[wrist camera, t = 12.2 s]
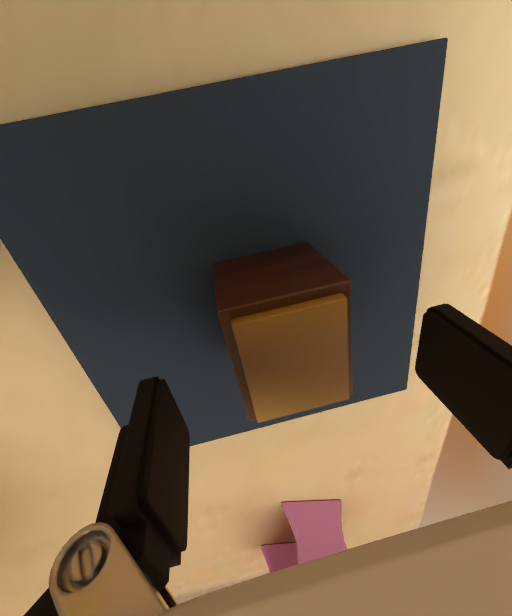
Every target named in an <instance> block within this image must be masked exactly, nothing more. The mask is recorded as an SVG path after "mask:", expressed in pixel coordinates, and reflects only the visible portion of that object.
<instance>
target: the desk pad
mask: <svg viewBox="0 0 512 616" xmlns="http://www.w3.org/2000/svg"><path fill="white" fill-rule="evenodd" d="M447 41H448V39H447V38H442V39H437V40H432V41H427V42H421V43H416V44H411V45H406V46H401V47H396V48H391V49H386V50H380V51H375V52H370V53H365V54H360V55H355V56H350V57H345V58H340V59H334V60H329V61H324V62H319V63H314V64H309V65H304V66H299V67H294V68H288V69H283V70H278V71H273V72H268V73H263V74H258V75H253V76H247V77H242V78H237V79H232V80H227V81H222V82H217V83H212V84H207V85H201V86H196V87H191V88H186V89H181V90H176V91H171V92H166V93H161V94H155V95H150V96H145V97H140V98H135V99H130V100H125V101H120V102H114V103H109V104H104V105H99V106H94V107H89V108H84V109H79V110H74V111H68V112H63V113H58V114H53V115H48V116H43V117H38V118H33V119H28V120H22V121H17V122H12V123H7V124H2V125H0V239H1V240H2V242H3V243H4V245H5V246H6V248H7V250H8V251H9V253H10V254H11V256H12V257H13V259H14V261H15V262H16V264H17V265H18V267H19V268H20V270H21V272H22V273H23V275H24V276H25V278H26V279H27V281H28V283H29V284H30V286H31V287H32V289H33V290H34V292H35V294H36V295H37V297H38V298H39V300H40V301H41V303H42V305H43V306H44V308H45V309H46V311H47V312H48V314H49V316H50V317H51V319H52V320H53V322H54V323H55V325H56V327H57V328H58V330H59V331H60V333H61V334H62V336H63V338H64V339H65V341H66V342H67V344H68V345H69V347H70V349H71V350H72V352H73V353H74V355H75V356H76V358H77V360H78V361H79V363H80V364H81V366H82V367H83V369H84V371H85V372H86V374H87V375H88V377H89V379H90V380H91V382H92V383H93V385H94V386H95V388H96V390H97V391H98V393H99V394H100V396H101V397H102V399H103V401H104V402H105V404H106V405H107V407H108V408H109V410H110V412H111V413H112V415H113V416H114V418H115V419H116V421H117V423H118V424H119V426H120V427H121V428H122V427H123V426H125V425H129V421H130V416H131V412H132V408H133V404H134V400H135V396H136V391H137V387H138V383H139V381H140V380H144V379H148V378H152V377H156V376H158V377H159V379H160V380H162V379H165V380H166V382H167V384H168V387H169V389H170V391H171V393H172V395H173V397H174V399H175V401H176V403H177V406H178V408H179V410H180V412H181V414H182V416H183V418H184V420H185V423H186V425H187V427H188V430H189V435H190V446H193V445H197V444H200V443H204V442H208V441H212V440H216V439H219V438H223V437H227V436H231V435H234V434H238V433H242V432H246V431H250V430H253V429H257V428H261V427H265V426H269V425H272V424H276V423H280V422H284V421H288V420H291V419H295V418H299V417H303V416H307V415H310V414H314V413H318V412H322V411H326V410H329V409H333V408H337V407H341V406H345V405H348V404H352V403H356V402H360V401H364V400H367V399H371V398H375V397H379V396H382V395H386V394H390V393H394V392H398V391H401V390H405V389H407V381H408V372H409V364H410V355H411V347H412V338H413V330H414V321H415V313H416V304H417V296H418V287H419V279H420V270H421V262H422V253H423V245H424V236H425V228H426V219H427V211H428V202H429V194H430V185H431V177H432V168H433V160H434V151H435V143H436V134H437V126H438V117H439V109H440V100H441V92H442V83H443V75H444V66H445V58H446V49H447ZM305 242H309V243H310V244H311V245H312V246H313V247H314V248H315V249H317V250H318V251H319V252H320V253H321V254H322V255H323V256H324V257H326V258H327V259H328V260H329V261H330V262H331V263H332V264H333V265H335V266H336V267H337V268H338V269H339V270H340V271H341V272H343V273H344V274H345V275H346V276H347V277H348V278H349V279H350V280H351V313H352V387H353V394H352V395H349V399H348V400H344V401H340V402H336V403H332V404H329V405H325V406H321V407H317V408H313V409H310V410H306V411H302V412H298V413H294V414H290V415H287V416H283V417H279V418H275V419H271V420H268V421H264V422H260V423H258V422H257V420H254V421H249V420H248V418H247V414H246V411H245V407H244V404H243V400H242V397H241V393H240V390H239V386H238V383H237V379H236V376H235V372H234V369H233V366H232V362H231V359H230V355H229V352H228V348H227V345H226V341H225V338H224V334H223V331H222V327H221V324H220V320H219V317H218V314H217V305H216V295H215V284H214V274H213V264H214V263H218V262H222V261H226V260H231V259H235V258H239V257H244V256H248V255H252V254H257V253H261V252H265V251H270V250H274V249H279V248H283V247H287V246H292V245H296V244H300V243H305Z"/></svg>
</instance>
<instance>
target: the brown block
mask: <svg viewBox="0 0 512 616" xmlns="http://www.w3.org/2000/svg"><path fill="white" fill-rule="evenodd" d="M213 274H214V284H215V295H216V305H217V314H218V317H219V320H220V324H221V327H222V331H223V334H224V338H225V341H226V345H227V348H228V352H229V355H230V359H231V362H232V366H233V369H234V372H235V376H236V379H237V383H238V386H239V390H240V393H241V397H242V400H243V404H244V407H245V411H246V414H247V418H248V420H249V421H254V420H257V422H258V423H260V422H264V421H268V420H271V419H275V418H279V417H283V416H287V415H290V414H294V413H298V412H302V411H306V410H310V409H313V408H317V407H321V406H325V405H329V404H332V403H336V402H340V401H344V400H348V399H349V395H352V394H353V387H352V313H351V280H350V279H349V278H348V277H347V276H346V275H345V274H344V273H343V272H341V271H340V270H339V269H338V268H337V267H336V266H335V265H333V264H332V263H331V262H330V261H329V260H328V259H327V258H326V257H324V256H323V255H322V254H321V253H320V252H319V251H318V250H317V249H315V248H314V247H313V246H312V245H311V244H310V243H309V242H305V243H300V244H296V245H292V246H287V247H283V248H279V249H274V250H270V251H265V252H261V253H257V254H252V255H248V256H244V257H239V258H235V259H231V260H226V261H222V262H218V263H214V264H213Z"/></svg>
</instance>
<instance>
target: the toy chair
mask: <svg viewBox="0 0 512 616" xmlns="http://www.w3.org/2000/svg"><path fill="white" fill-rule="evenodd" d="M281 506H282V508H283V510H284V513H285V515H286V517H287V519H288V521H289V523H290V526H291V529H292V531H293V534H294V537H295V541H296V543H285V544H272V545H262V547H261V550H262V552H263V555H264V557H265V560H266V562H267V565H268V568H269V571H270V573H272V572H275V571H279V570H282V569H285V568H289V567H292V566H295V565H298V564H302V563H305V562H308V561H312V560H315V559H318V558H321V557H325V556H328V555H331V554H335V553H338V552H341V551H344V550H347V547H346V544H345V541H344V537H343V532H342V523H341V500H326V501H301V502H283V503H282V505H281Z"/></svg>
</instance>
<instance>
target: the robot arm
mask: <svg viewBox="0 0 512 616" xmlns="http://www.w3.org/2000/svg"><path fill="white" fill-rule="evenodd" d="M415 370H416V373H417V375H418V377H419V378H420V379H421V380H422V381H423V382H424V383H425V384H426V385H427V387H428V388H429V389H430V390H431V391H432V392H433V393H434V394H435V395H436V396H437V397H438V398H439V399H440V401H441V402H442V403H443V404H444V405H445V406H446V407H447V408H448V409H449V410H450V411H451V412H452V414H453V415H454V416H455V417H456V418H457V419H458V420H459V421H460V422H461V423H462V424H463V425H464V426H465V428H466V429H467V430H468V431H469V432H470V433H471V434H472V435H473V436H474V437H475V438H476V439H477V440H478V442H479V443H480V444H481V445H482V446H483V447H484V448H485V449H486V450H487V451H488V452H489V453H490V454H491V455H492V456H493V457H494V458H496V459H498V460H501V461H502V462H503V463H504V464H505V465H506V466H507V468H508V469H510V468H512V346H511V345H510V344H508V343H507V342H505V341H504V340H502V339H501V338H499V337H498V336H496V335H494V334H493V333H491V332H490V331H488V330H487V329H485V328H484V327H482V326H481V325H479V324H478V323H476V322H475V321H473V320H472V319H470V318H469V317H467V316H466V315H464V314H463V313H461V312H460V311H458V310H457V309H455V308H454V307H452V306H451V305H449V304H442V305H438V306H434V307H430V308H428V310H427V312H426V313H425V314H424V315H423V320H422V327H421V333H420V339H419V346H418V352H417V359H416V365H415ZM189 448H190V435H189V430H188V427H187V425H186V423H185V420H184V418H183V416H182V414H181V412H180V410H179V408H178V406H177V403H176V401H175V399H174V397H173V395H172V393H171V391H170V389H169V387H168V384H167V382H166V380H165V379H162V380H160V379H159V377H158V376H156V377H152V378H148V379H144V380H140V381H139V383H138V387H137V391H136V396H135V400H134V404H133V408H132V412H131V416H130V421H129V425H125V426H123V427H122V428H121V430H120V433H119V436H118V440H117V443H116V447H115V451H114V455H113V458H112V462H111V466H110V470H109V474H108V477H107V481H106V485H105V489H104V492H103V496H102V500H101V504H100V508H99V511H98V515H97V519H96V523H93V524H90V525H88V526H86V527H84V528H82V529H81V530H79V531H78V532H77V533H76V534H74V535H73V536H72V537H71V538H70V539H69V540H68V542H67V543H66V544H65V545H64V546H63V547H62V549H61V551H60V552H59V554H58V556H57V557H56V559H55V561H54V564H53V566H52V569H51V572H50V578H49V588H48V589H47V590H46V591H45V593H44V594H43V595H42V596H41V597H40V598H39V599H38V600H37V601H36V603H35V604H34V605H33V606H32V607H31V608H30V609H29V610H28V611H27V613H26V614H25V615H24V616H512V501H509V502H506V503H503V504H499V505H496V506H492V507H489V508H485V509H482V510H479V511H475V512H472V513H468V514H465V515H462V516H458V517H455V518H452V519H448V520H445V521H441V522H438V523H435V524H431V525H428V526H425V527H421V528H418V529H415V530H411V531H408V532H404V533H401V534H398V535H394V536H391V537H388V538H384V539H381V540H378V541H374V542H371V543H368V544H364V545H361V546H358V547H354V548H351V549H348V550H344V551H341V552H338V553H335V554H331V555H328V556H325V557H321V558H318V559H315V560H312V561H308V562H305V563H302V564H298V565H295V566H292V567H289V568H285V569H282V570H279V571H275V572H272V573H269V574H266V575H263V576H259V577H256V578H253V579H250V580H247V581H244V582H241V583H238V584H235V585H232V586H229V587H226V588H223V589H220V590H217V591H213V592H210V593H207V594H205V595H202V596H200V597H197V598H194V599H192V600H189V601H187V602H184V603H182V604H178V602H177V601H176V599H175V598H174V596H173V595H172V594H171V592H170V591H169V589H168V588H167V586H166V584H167V583H168V581H169V569H170V567H174V566H177V565H181V552H182V551H185V550H186V547H187V528H188V488H189Z"/></svg>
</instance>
